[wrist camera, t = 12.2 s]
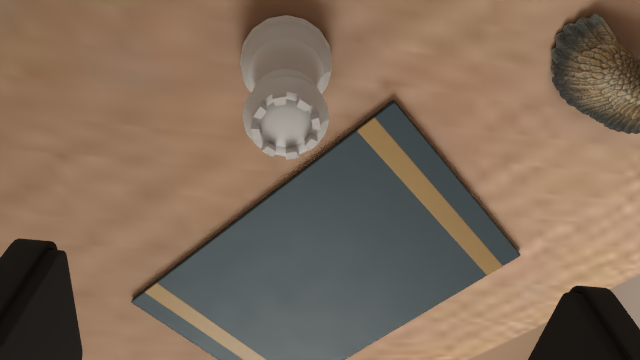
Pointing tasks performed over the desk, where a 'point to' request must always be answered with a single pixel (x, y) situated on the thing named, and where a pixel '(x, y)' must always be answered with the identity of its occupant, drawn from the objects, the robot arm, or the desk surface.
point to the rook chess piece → (286, 85)
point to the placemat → (334, 253)
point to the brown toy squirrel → (597, 74)
